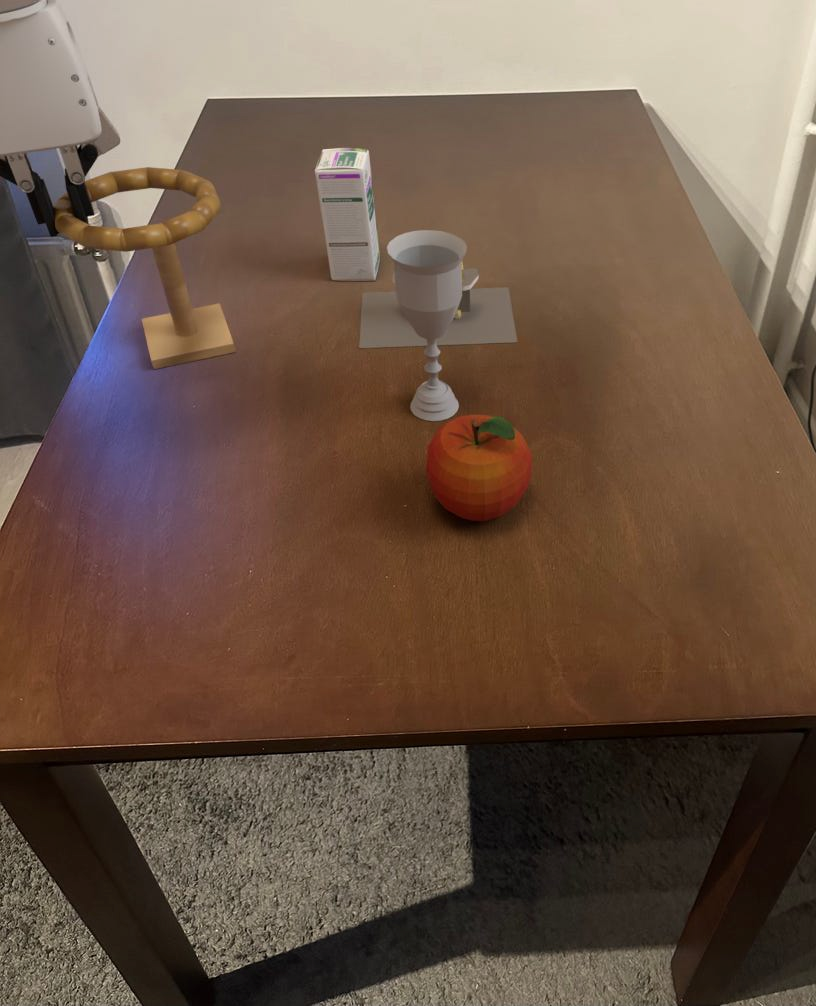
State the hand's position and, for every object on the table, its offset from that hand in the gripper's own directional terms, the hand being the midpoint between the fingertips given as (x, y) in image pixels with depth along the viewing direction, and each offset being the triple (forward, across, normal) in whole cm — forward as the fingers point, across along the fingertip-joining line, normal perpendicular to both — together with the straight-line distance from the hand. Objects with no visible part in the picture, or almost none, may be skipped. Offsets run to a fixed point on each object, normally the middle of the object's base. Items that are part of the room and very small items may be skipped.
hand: (69, 225), depth 76 cm
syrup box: (+22, -29, -21) cm, 42 cm away
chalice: (+22, -29, +9) cm, 37 cm away
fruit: (+22, -28, +24) cm, 43 cm away
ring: (-1, -6, 0) cm, 6 cm away
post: (+22, -7, -13) cm, 26 cm away
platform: (+22, -35, -8) cm, 42 cm away
